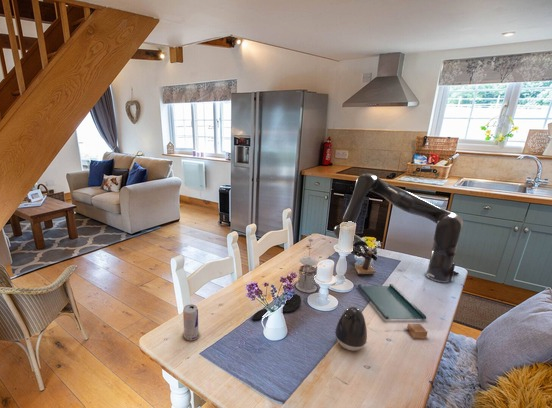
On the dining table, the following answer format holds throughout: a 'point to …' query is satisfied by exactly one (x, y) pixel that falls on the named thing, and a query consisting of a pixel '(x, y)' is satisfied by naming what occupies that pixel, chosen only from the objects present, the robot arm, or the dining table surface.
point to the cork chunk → (417, 331)
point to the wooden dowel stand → (365, 267)
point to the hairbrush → (286, 309)
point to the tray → (391, 302)
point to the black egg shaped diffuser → (351, 329)
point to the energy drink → (190, 322)
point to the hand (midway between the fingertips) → (372, 258)
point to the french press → (307, 274)
